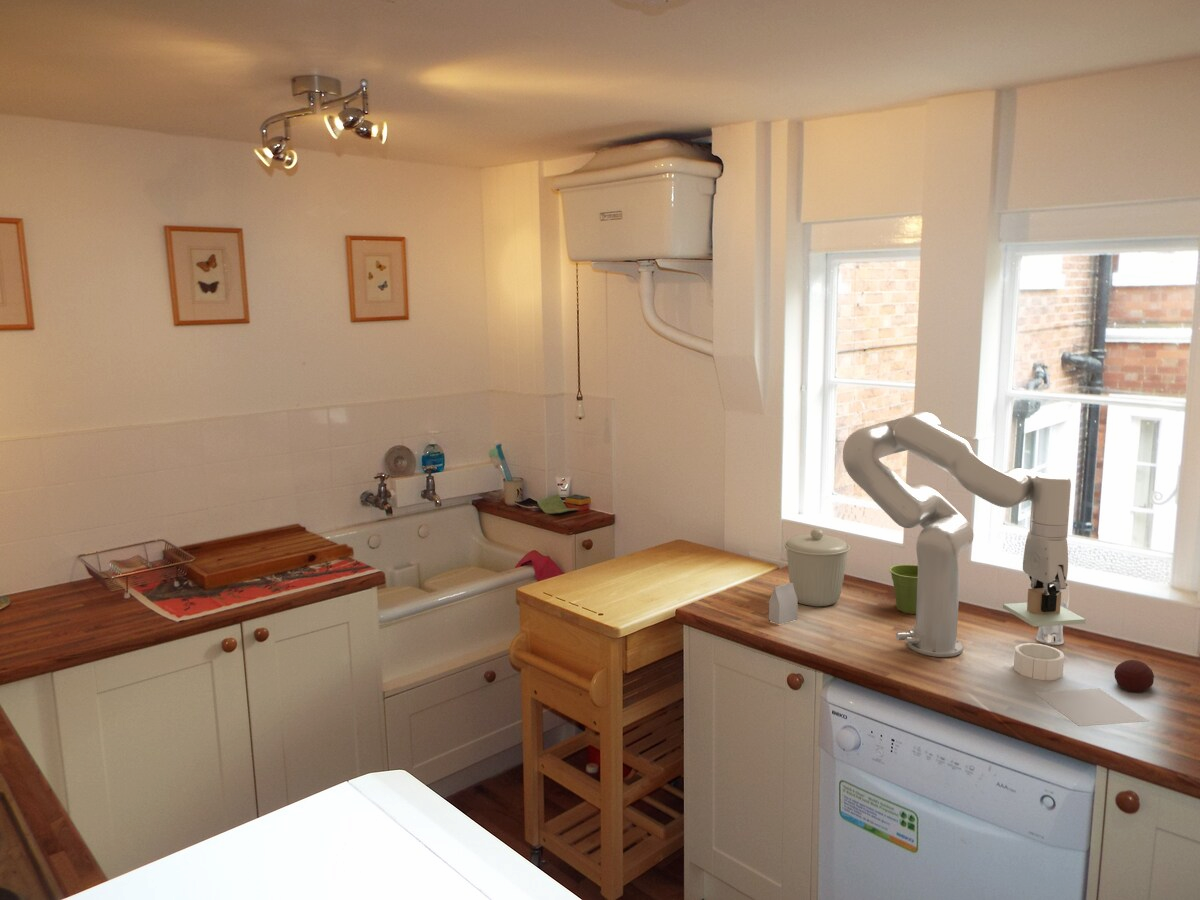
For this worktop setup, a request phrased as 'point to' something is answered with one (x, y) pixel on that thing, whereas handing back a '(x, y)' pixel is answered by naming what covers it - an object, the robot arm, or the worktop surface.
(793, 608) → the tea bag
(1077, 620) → the board
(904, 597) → the plant pot
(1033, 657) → the bowl
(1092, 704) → the mat
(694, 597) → the worktop surface
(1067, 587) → the beer glass
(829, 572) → the canister
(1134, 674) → the potato
